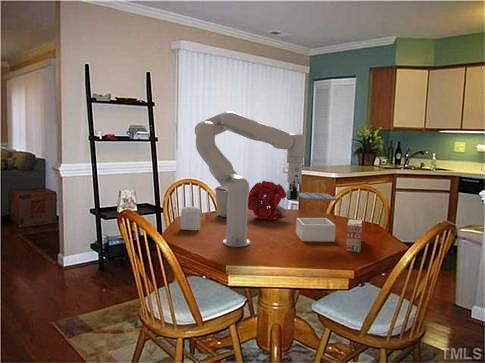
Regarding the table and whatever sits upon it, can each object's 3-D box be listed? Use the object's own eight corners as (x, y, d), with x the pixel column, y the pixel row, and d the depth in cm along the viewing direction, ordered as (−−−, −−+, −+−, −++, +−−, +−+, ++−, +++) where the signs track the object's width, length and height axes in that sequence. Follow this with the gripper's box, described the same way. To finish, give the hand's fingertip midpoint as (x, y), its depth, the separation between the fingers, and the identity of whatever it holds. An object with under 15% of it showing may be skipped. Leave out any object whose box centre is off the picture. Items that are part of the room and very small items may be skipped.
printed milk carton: (348, 239, 203) (349, 215, 201) (361, 240, 201) (362, 216, 200) (345, 251, 183) (347, 224, 181) (359, 252, 181) (361, 225, 179)
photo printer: (200, 229, 216) (201, 206, 214) (199, 231, 212) (199, 207, 210) (181, 228, 217) (182, 205, 215) (179, 230, 213) (180, 206, 211)
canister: (213, 212, 260) (214, 179, 257) (242, 212, 261) (243, 180, 258) (213, 218, 242) (214, 183, 239) (244, 219, 243) (245, 184, 240)
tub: (334, 241, 198) (335, 225, 197) (302, 241, 197) (302, 224, 196) (325, 233, 214) (326, 218, 213) (295, 232, 213) (296, 217, 212)
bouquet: (261, 223, 262) (234, 205, 241) (275, 190, 267) (250, 170, 246) (288, 232, 248) (262, 213, 226) (302, 197, 253) (278, 176, 231)
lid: (290, 199, 186) (291, 192, 186) (283, 193, 202) (284, 187, 202) (337, 200, 189) (337, 194, 188) (326, 195, 205) (327, 189, 204)
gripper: (307, 161, 185) (304, 201, 187) (298, 159, 201) (296, 196, 203) (290, 161, 184) (288, 201, 186) (283, 158, 200) (281, 195, 203)
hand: (292, 198), depth 195 cm, fingers closed on lid, 3 cm apart
